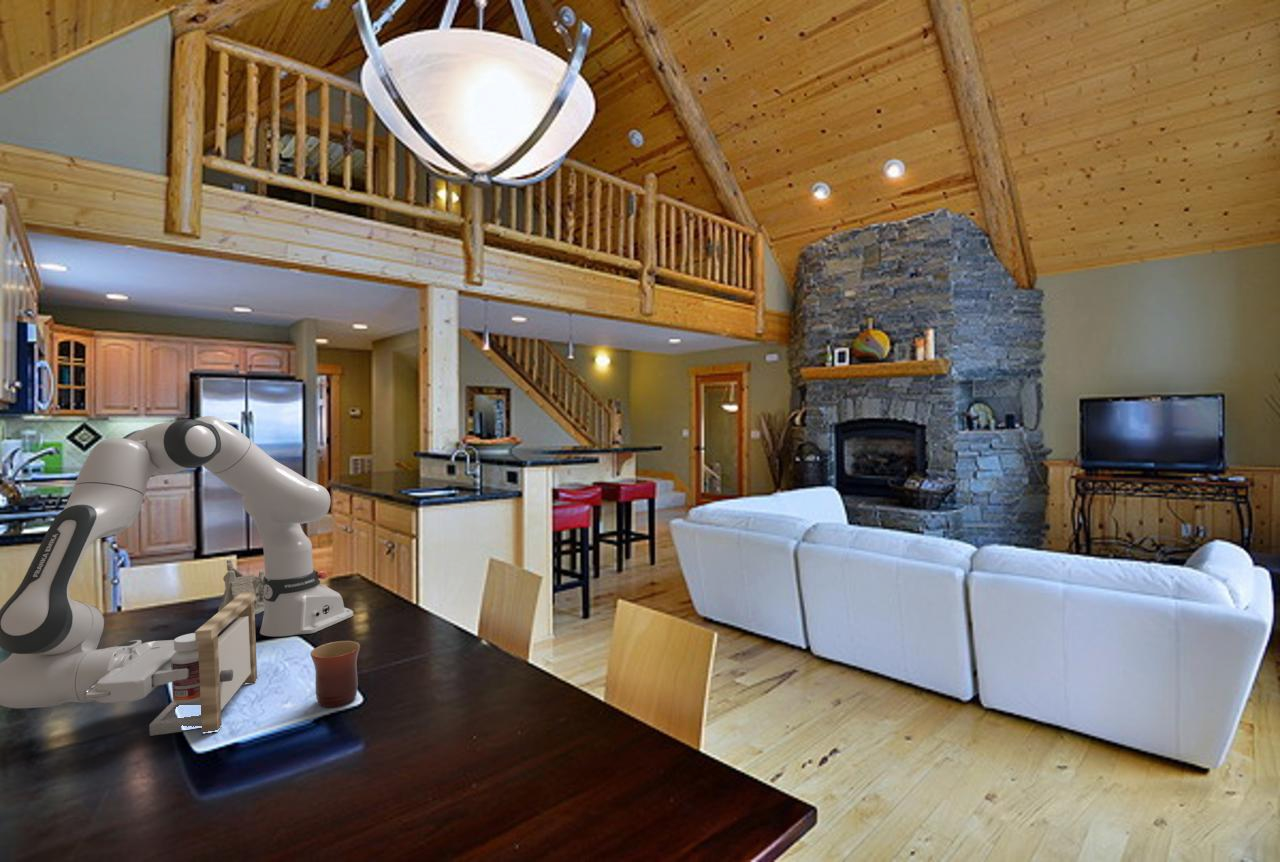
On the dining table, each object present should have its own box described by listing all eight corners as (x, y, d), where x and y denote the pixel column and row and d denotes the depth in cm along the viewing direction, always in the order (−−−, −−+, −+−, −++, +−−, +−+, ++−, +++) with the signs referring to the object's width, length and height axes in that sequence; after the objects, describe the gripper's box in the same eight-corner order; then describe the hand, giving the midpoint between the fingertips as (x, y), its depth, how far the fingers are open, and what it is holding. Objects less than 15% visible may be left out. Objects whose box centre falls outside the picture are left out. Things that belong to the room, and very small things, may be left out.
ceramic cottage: (217, 621, 172) (219, 565, 173) (218, 608, 186) (220, 556, 186) (282, 613, 181) (284, 561, 181) (279, 601, 195) (280, 552, 195)
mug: (352, 709, 120) (350, 656, 119) (304, 712, 119) (302, 658, 119) (373, 682, 132) (371, 634, 131) (330, 684, 131) (328, 635, 131)
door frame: (245, 679, 134) (242, 591, 134) (258, 677, 135) (255, 590, 134) (199, 737, 110) (195, 631, 110) (215, 735, 111) (210, 629, 110)
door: (242, 674, 131) (239, 617, 131) (259, 672, 132) (257, 615, 131) (208, 714, 114) (206, 648, 113) (229, 711, 115) (226, 646, 114)
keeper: (175, 709, 121) (174, 698, 121) (228, 702, 124) (227, 692, 124) (149, 735, 111) (149, 724, 111) (208, 728, 114) (207, 717, 114)
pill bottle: (217, 696, 118) (215, 636, 117) (177, 708, 113) (175, 645, 113) (207, 687, 122) (206, 629, 121) (168, 698, 117) (166, 637, 117)
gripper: (74, 679, 104) (172, 669, 107) (136, 637, 123) (217, 629, 127) (76, 717, 104) (173, 706, 108) (137, 669, 123) (218, 660, 127)
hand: (197, 664), depth 117 cm, fingers closed on pill bottle, 6 cm apart
